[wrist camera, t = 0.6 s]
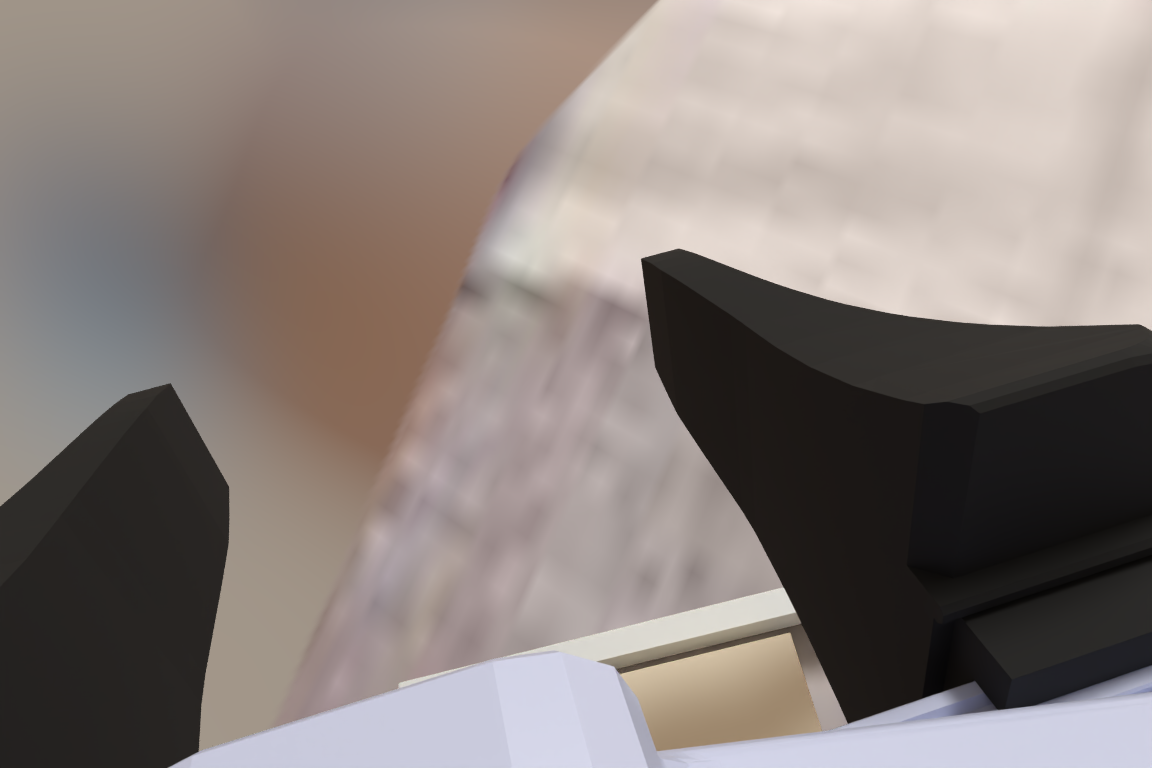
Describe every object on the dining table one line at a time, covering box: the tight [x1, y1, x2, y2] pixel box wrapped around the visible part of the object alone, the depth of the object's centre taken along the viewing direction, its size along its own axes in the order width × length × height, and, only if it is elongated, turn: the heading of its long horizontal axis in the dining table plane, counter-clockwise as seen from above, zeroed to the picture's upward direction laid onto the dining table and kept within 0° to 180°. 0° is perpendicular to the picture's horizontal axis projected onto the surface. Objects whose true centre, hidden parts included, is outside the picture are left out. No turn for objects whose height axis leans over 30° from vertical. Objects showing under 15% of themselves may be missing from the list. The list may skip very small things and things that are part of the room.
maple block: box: [620, 633, 822, 751], centre depth 22 cm, size 5×6×5 cm
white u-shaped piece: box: [399, 587, 801, 688], centre depth 23 cm, size 9×19×2 cm, turn 101°
